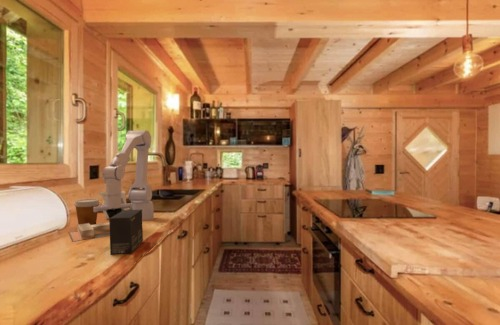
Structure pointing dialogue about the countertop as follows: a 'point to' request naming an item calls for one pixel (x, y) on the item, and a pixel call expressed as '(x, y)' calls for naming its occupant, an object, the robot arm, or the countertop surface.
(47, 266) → the countertop surface
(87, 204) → the disposable coffee cup
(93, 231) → the t block
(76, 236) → the mat
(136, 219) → the small box
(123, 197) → the pitcher
